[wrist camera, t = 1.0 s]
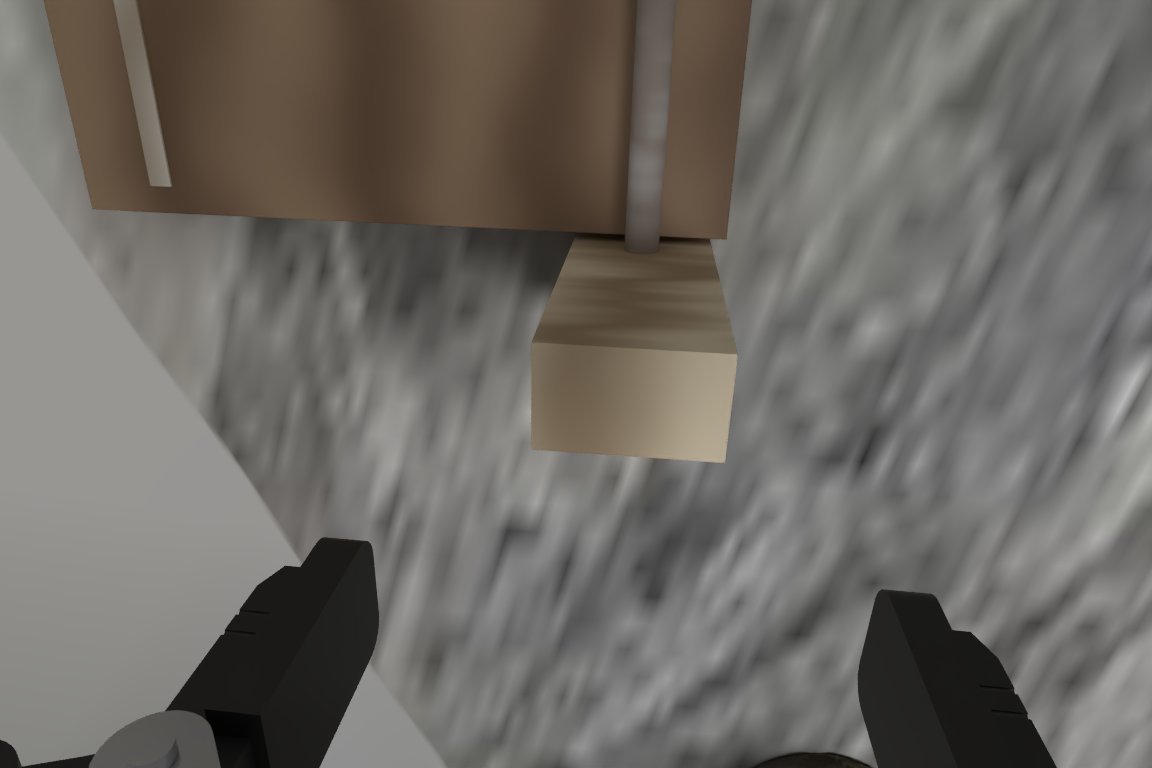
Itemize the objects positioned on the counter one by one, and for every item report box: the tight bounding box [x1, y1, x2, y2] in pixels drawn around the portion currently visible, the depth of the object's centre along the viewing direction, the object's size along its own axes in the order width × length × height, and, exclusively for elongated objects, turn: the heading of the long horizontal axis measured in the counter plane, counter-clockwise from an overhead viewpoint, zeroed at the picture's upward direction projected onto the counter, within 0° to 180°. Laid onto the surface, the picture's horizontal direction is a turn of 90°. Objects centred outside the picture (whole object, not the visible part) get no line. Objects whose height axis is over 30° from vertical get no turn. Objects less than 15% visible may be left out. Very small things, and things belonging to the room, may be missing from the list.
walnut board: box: [44, 0, 752, 239], centre depth 27 cm, size 24×12×2 cm, turn 89°
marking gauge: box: [531, 0, 738, 463], centre depth 23 cm, size 5×13×12 cm, turn 179°
